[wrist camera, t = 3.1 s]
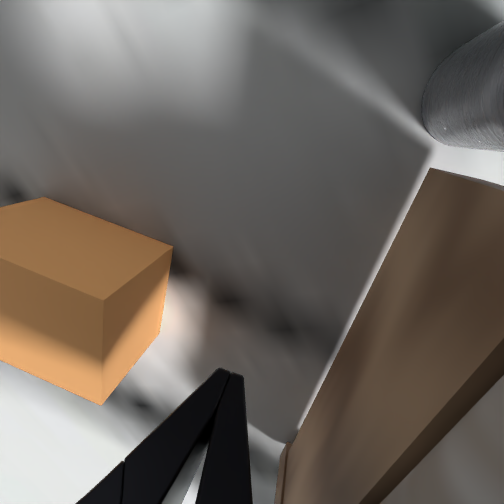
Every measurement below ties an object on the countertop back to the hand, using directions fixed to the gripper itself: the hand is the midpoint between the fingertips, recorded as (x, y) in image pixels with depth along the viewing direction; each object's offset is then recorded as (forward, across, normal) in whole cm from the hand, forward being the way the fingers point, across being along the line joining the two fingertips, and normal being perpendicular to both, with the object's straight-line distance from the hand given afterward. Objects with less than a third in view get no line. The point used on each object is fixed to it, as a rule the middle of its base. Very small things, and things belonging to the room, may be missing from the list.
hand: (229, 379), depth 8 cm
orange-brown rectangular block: (+3, +7, 0) cm, 8 cm away
